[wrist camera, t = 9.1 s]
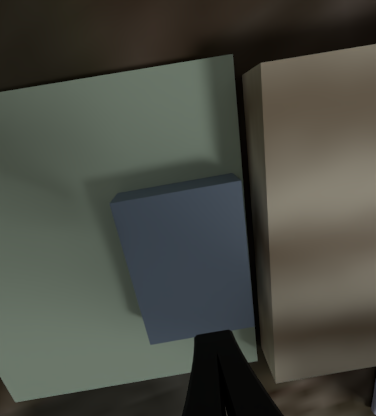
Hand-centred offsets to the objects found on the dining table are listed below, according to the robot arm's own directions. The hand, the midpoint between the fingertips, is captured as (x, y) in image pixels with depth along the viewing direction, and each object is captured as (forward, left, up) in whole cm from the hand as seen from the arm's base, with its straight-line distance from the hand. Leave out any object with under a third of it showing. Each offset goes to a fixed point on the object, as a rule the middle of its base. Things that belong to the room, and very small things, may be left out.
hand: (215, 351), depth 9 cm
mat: (0, +7, -8) cm, 10 cm away
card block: (0, +1, -8) cm, 8 cm away
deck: (0, -10, -8) cm, 13 cm away
